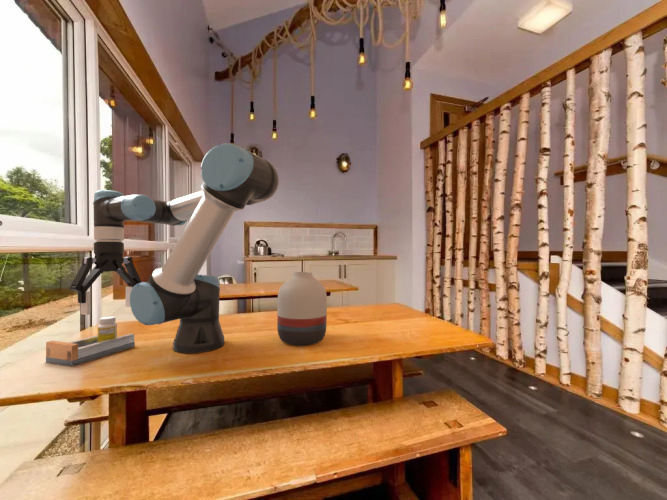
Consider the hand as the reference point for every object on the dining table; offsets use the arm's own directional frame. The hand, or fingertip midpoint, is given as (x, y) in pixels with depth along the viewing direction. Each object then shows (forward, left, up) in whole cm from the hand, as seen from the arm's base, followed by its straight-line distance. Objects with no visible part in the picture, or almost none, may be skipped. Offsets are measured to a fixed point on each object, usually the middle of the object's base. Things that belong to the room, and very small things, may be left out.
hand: (109, 310), depth 93 cm
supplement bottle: (0, 0, -11) cm, 11 cm away
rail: (0, +4, -12) cm, 13 cm away
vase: (-53, -28, -12) cm, 61 cm away
